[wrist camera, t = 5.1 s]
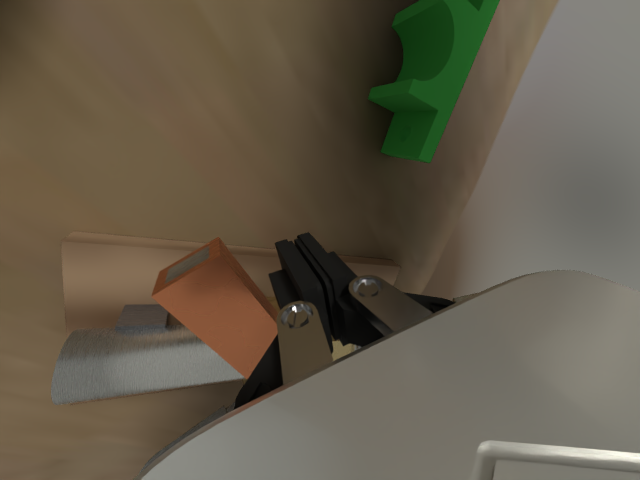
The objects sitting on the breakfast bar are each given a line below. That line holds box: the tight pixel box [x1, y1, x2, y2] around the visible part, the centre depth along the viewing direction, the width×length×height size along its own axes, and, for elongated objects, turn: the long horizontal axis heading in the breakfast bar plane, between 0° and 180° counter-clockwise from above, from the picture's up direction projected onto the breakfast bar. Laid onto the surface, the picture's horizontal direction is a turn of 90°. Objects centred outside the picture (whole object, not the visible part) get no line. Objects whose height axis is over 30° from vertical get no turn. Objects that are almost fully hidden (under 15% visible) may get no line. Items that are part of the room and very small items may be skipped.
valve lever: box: [151, 237, 278, 379], centre depth 13 cm, size 13×3×3 cm, turn 25°
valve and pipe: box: [51, 297, 357, 405], centre depth 18 cm, size 5×22×5 cm, turn 74°
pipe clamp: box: [368, 0, 500, 163], centre depth 16 cm, size 11×4×5 cm, turn 161°
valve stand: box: [61, 231, 401, 405], centre depth 21 cm, size 12×24×2 cm, turn 74°
